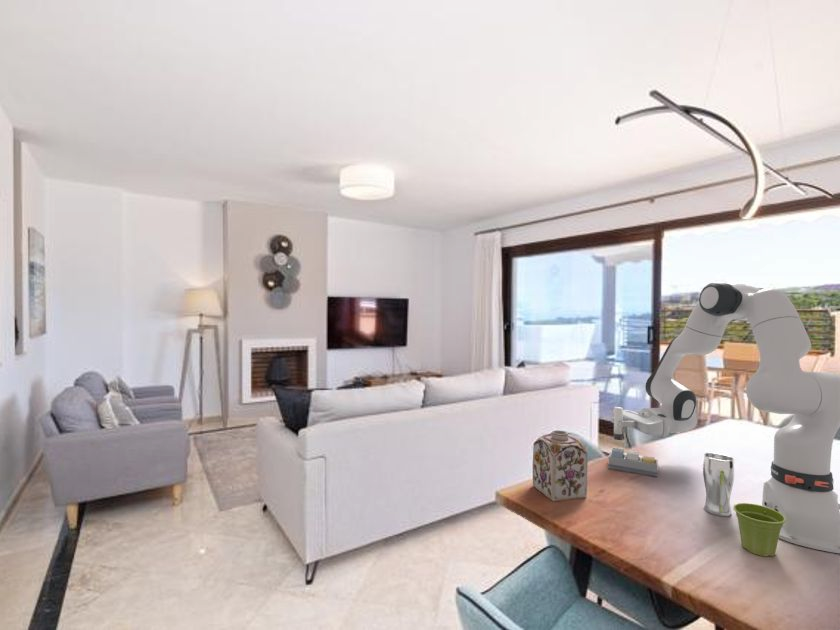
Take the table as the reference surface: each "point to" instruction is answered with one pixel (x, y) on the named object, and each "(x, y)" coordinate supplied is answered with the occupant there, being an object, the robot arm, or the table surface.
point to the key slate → (618, 453)
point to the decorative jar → (560, 466)
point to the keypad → (633, 465)
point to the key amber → (648, 459)
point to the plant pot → (759, 528)
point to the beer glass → (718, 483)
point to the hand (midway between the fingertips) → (615, 422)
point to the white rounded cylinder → (618, 417)
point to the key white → (633, 455)
